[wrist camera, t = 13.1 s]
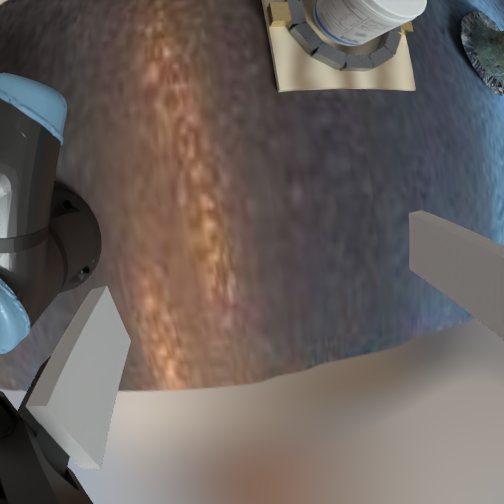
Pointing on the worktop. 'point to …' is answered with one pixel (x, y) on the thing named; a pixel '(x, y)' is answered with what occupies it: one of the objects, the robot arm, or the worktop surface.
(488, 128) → the worktop surface
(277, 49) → the base plate
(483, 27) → the tree stump
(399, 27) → the ring
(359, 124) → the worktop surface
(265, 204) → the worktop surface
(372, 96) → the worktop surface
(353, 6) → the supplement tub
